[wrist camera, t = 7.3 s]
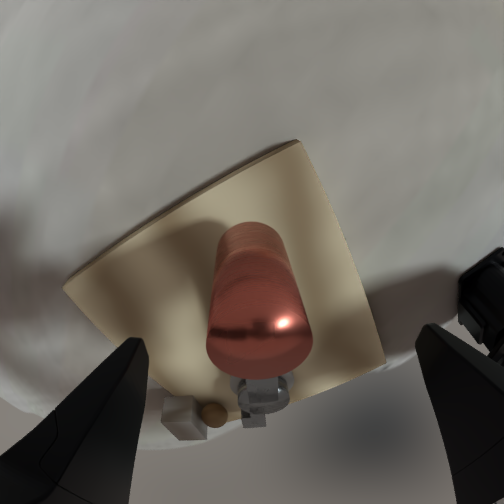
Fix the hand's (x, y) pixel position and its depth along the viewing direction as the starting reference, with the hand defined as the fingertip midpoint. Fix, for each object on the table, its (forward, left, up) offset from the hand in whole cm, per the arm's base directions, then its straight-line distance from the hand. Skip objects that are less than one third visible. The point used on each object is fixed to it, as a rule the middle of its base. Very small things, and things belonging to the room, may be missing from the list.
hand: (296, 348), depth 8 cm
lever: (+4, +7, -8) cm, 11 cm away
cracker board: (+6, +7, -10) cm, 13 cm away
